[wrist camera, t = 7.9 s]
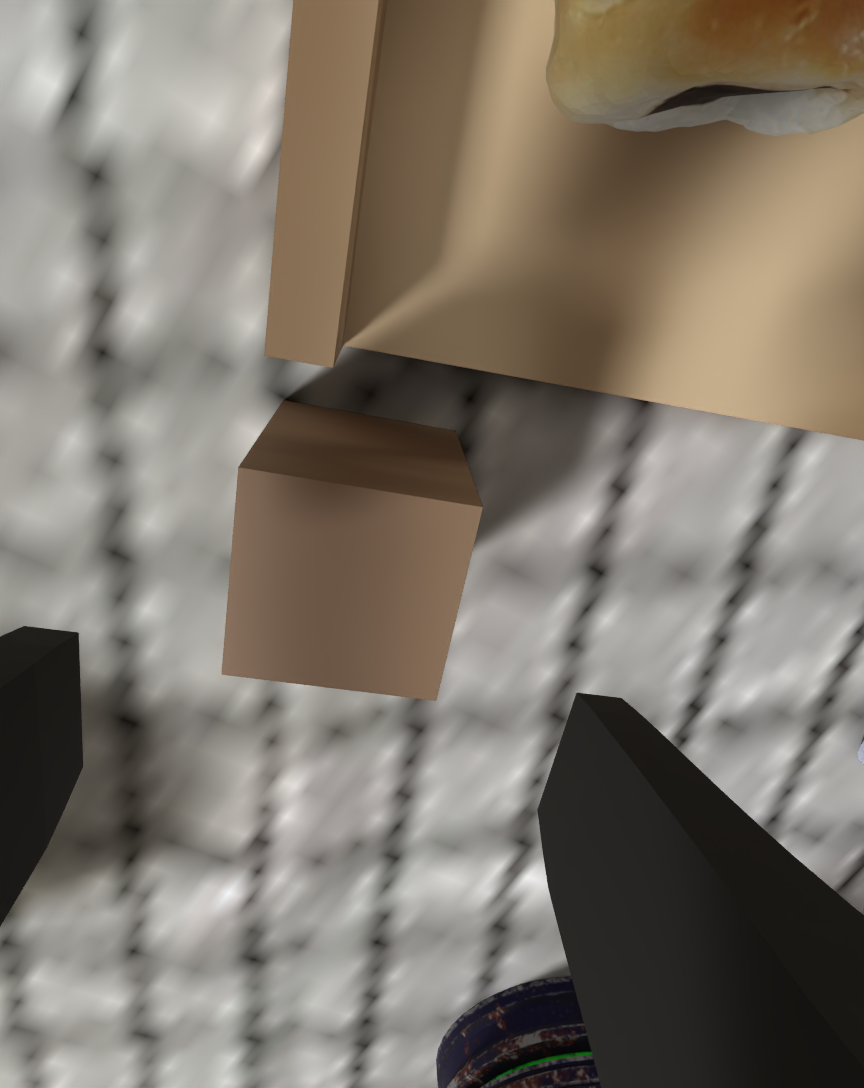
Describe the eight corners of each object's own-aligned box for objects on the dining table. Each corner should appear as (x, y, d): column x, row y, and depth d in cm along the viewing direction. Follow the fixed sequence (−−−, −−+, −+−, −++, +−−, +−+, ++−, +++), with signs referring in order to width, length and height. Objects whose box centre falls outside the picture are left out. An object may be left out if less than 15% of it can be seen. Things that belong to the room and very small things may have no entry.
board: (1227, -216, 12) (1497, -364, 9) (904, 445, 16) (1011, 488, 13) (369, -516, 10) (361, -832, 7) (289, 333, 14) (263, 355, 12)
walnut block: (455, 430, 16) (483, 507, 11) (423, 579, 17) (436, 701, 13) (283, 400, 15) (238, 467, 10) (267, 556, 17) (222, 674, 12)
